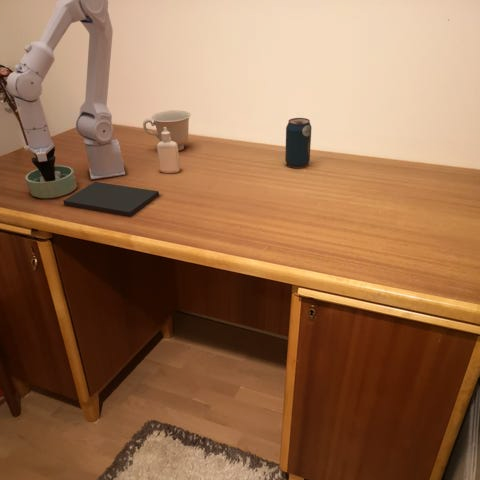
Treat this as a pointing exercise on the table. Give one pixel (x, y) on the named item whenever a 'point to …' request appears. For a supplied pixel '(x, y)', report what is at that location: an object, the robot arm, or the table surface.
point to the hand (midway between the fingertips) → (51, 180)
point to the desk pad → (112, 198)
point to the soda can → (298, 142)
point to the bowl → (51, 183)
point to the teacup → (171, 125)
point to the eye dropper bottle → (168, 154)
